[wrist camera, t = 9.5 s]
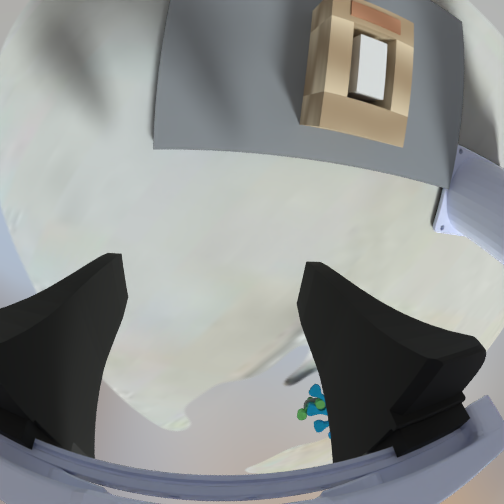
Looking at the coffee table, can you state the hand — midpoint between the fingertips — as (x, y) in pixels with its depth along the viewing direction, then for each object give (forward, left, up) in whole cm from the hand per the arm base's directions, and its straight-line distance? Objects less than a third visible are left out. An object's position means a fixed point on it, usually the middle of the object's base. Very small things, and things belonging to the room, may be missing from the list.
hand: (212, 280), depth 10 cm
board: (-7, -12, -8) cm, 16 cm away
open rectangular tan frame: (-7, -10, -7) cm, 14 cm away
